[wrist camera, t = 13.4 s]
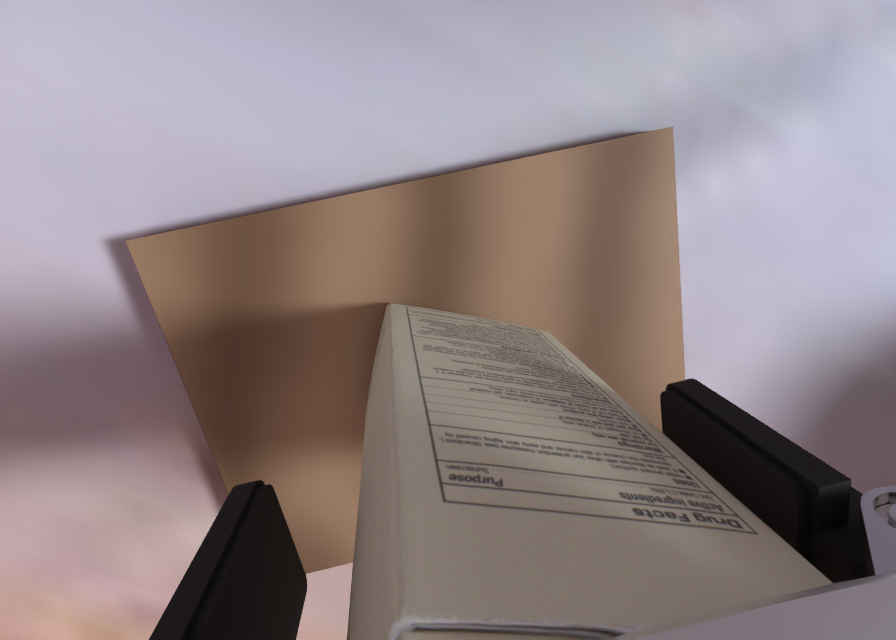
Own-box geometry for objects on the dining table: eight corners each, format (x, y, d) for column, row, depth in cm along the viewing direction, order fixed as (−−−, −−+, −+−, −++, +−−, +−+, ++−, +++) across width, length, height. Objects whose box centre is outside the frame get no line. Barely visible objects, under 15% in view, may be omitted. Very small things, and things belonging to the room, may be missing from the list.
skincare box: (364, 410, 17) (287, 925, 5) (386, 297, 16) (353, 617, 4) (529, 435, 18) (783, 912, 6) (560, 331, 17) (943, 664, 5)
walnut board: (653, 130, 16) (672, 126, 15) (673, 462, 20) (690, 479, 19) (145, 236, 15) (125, 240, 14) (272, 560, 19) (265, 583, 18)
